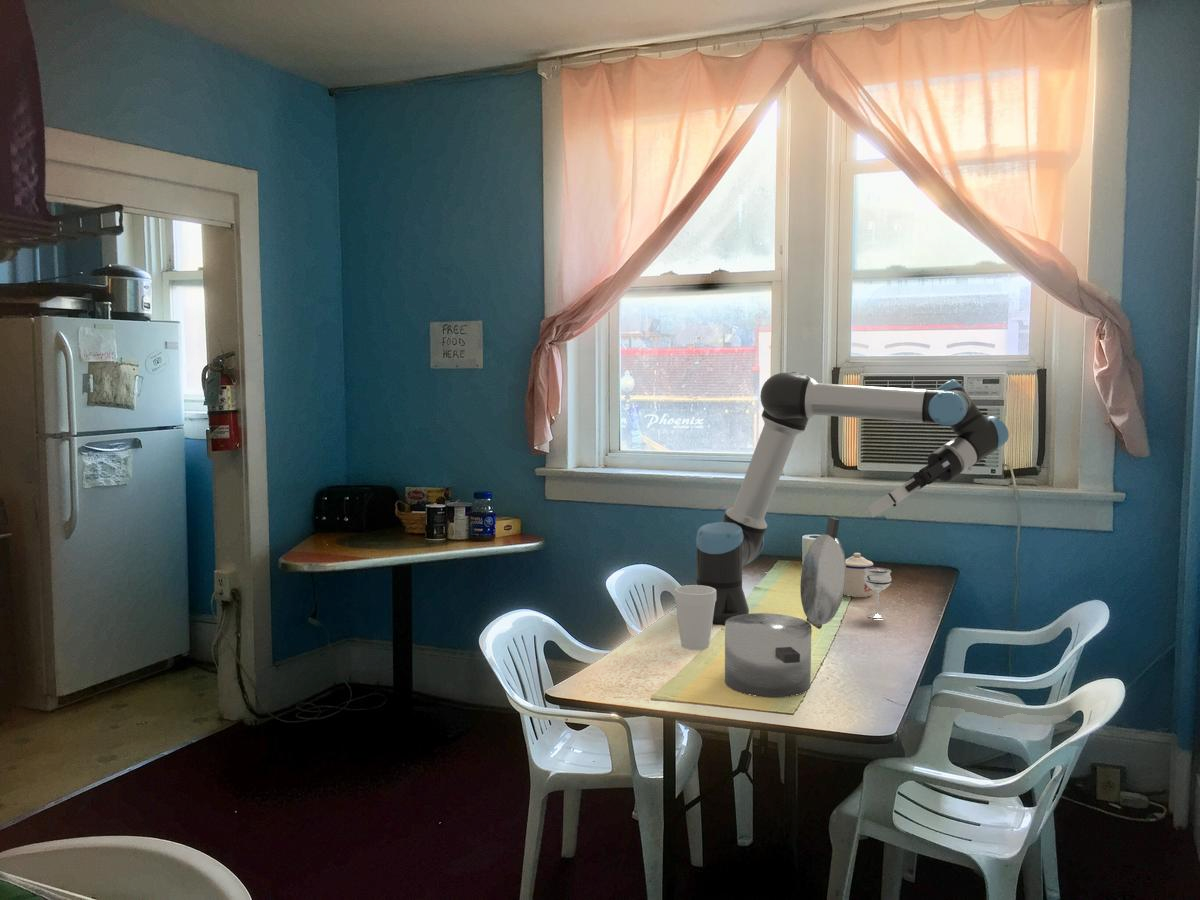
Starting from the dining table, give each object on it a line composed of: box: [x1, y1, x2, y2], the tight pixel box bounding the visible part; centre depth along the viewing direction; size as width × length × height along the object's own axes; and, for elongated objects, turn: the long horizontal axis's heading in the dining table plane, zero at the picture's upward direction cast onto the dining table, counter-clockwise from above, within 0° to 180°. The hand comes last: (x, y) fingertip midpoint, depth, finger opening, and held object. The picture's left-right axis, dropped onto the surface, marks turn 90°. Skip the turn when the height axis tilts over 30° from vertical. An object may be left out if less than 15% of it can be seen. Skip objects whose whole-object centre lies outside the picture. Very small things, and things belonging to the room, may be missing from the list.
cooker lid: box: [800, 516, 846, 630], centre depth 187 cm, size 22×18×1 cm
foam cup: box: [674, 584, 716, 651], centre depth 211 cm, size 10×9×13 cm
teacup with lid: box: [844, 552, 875, 598], centre depth 262 cm, size 12×9×12 cm
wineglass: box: [864, 567, 892, 618], centre depth 236 cm, size 7×7×12 cm
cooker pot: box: [724, 612, 812, 698], centre depth 186 cm, size 17×26×12 cm, turn 10°
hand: (881, 505), depth 210 cm, fingers open, 13 cm apart
